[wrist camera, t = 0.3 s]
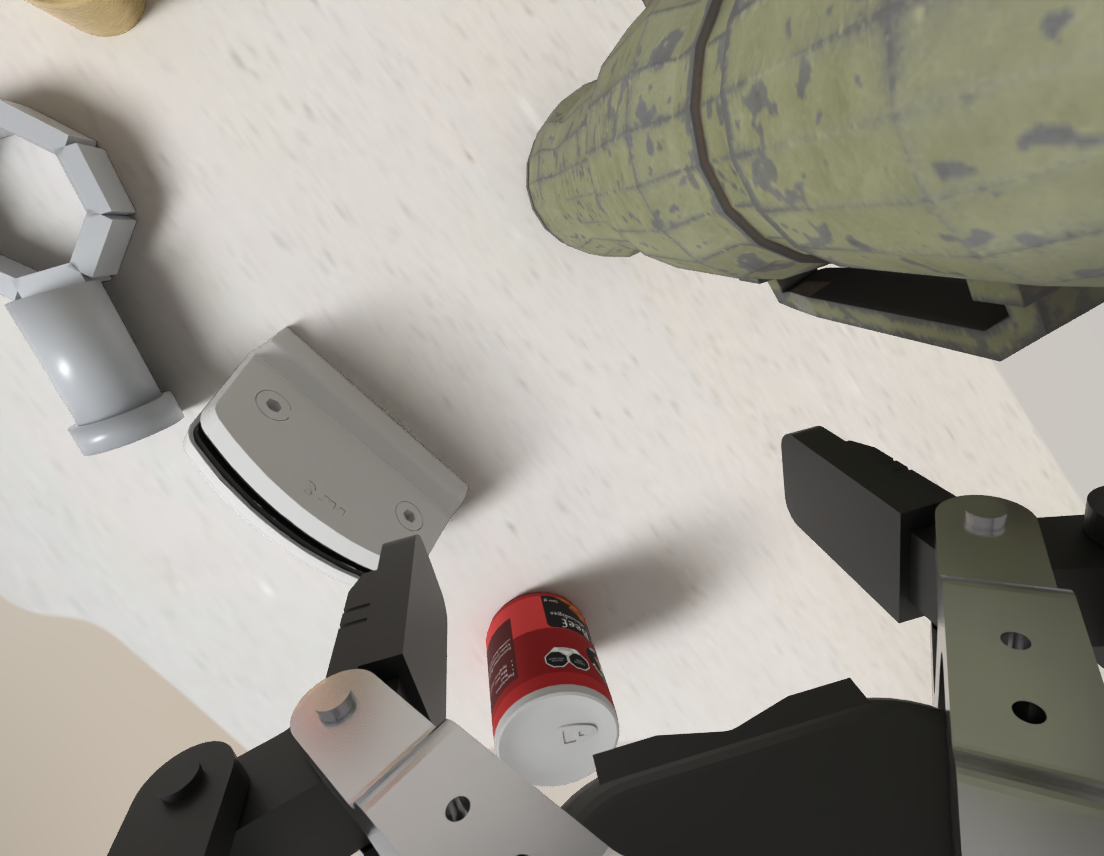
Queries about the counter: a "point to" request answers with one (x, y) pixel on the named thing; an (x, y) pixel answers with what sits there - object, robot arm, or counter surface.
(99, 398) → the grey octagonal holder
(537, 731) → the canned food
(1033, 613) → the robot arm
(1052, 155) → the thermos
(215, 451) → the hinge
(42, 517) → the counter surface
